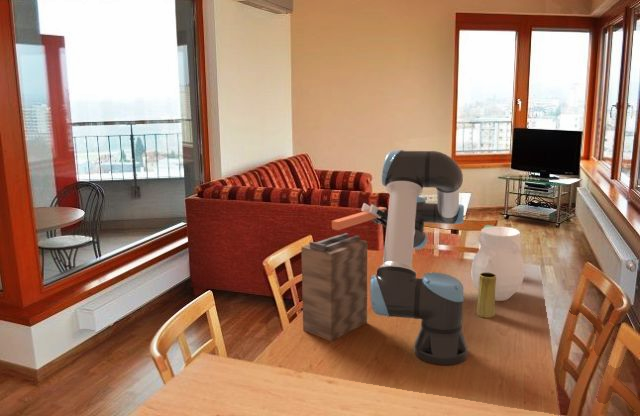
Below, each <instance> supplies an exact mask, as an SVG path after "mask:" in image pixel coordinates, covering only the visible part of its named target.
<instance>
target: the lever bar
mask: <svg viewBox="0 0 640 416" xmlns="http://www.w3.org/2000/svg"><path fill="white" fill-rule="evenodd" d="M377 207H378V208H379V209H381V210H382V211H383V212H384V210H387V207H383V206H377ZM375 218H378V217H376V216H375V215H373V214H372V213H370V212H369V210H368V211H364V212H363V211H361V212H357V213H355V214H350V215H347V216H344V217H341V218H337V219H334V220H331V229H332V230H335V231H340V230H343V229H346V228H350V227H353V226H355V225H359V224H362V223H366V222H368V221H373V220H372V219H375Z"/></svg>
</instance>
